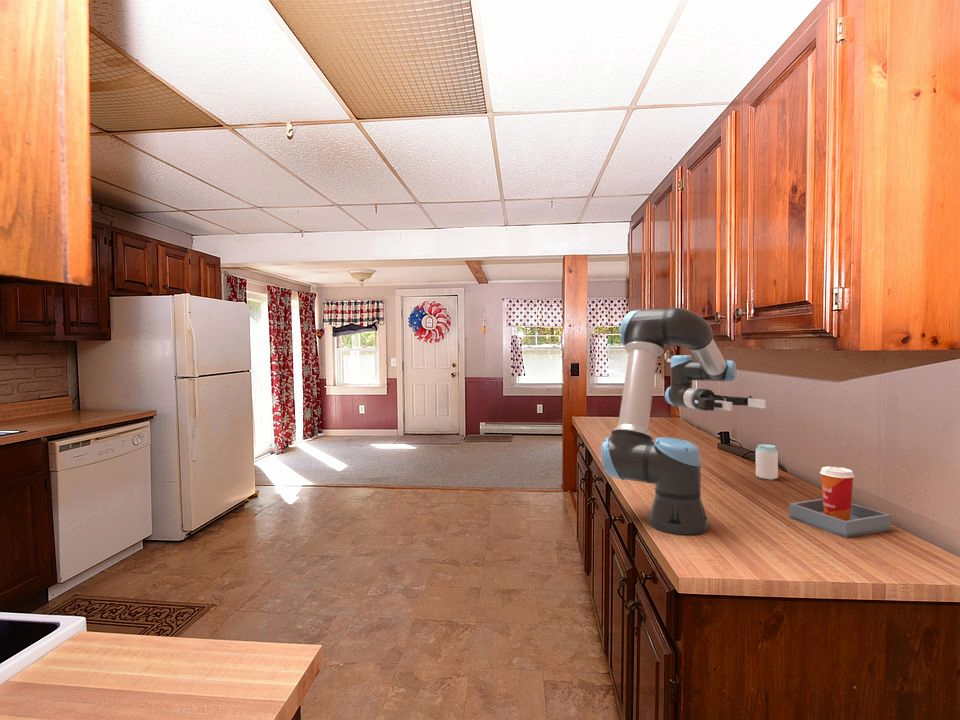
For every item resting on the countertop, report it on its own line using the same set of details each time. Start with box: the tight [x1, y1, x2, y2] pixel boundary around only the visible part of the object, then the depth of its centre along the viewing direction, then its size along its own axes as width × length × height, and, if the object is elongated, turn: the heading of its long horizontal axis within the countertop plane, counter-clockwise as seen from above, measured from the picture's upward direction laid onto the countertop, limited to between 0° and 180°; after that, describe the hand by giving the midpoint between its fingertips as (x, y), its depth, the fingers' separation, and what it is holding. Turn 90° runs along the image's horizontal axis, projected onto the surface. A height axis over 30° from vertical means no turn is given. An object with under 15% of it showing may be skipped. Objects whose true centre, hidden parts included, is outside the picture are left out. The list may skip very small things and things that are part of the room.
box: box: [788, 498, 892, 539], centre depth 134 cm, size 16×16×4 cm
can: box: [755, 443, 779, 481], centre depth 180 cm, size 7×7×12 cm
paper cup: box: [819, 466, 855, 521], centre depth 134 cm, size 8×8×14 cm
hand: (748, 405), depth 155 cm, fingers open, 13 cm apart
